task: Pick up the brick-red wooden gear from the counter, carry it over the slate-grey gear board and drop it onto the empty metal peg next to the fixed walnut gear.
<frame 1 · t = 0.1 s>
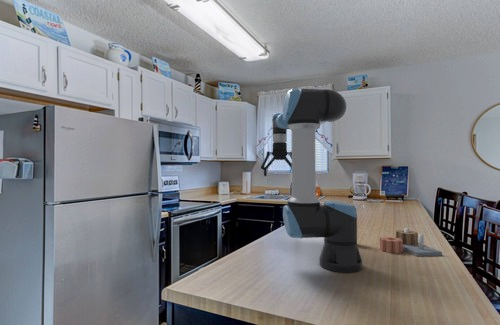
hand: (279, 182, 157), 28 cm above the countertop, fingers open, 13 cm apart
gear board: (413, 249, 130), on the countertop
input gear: (391, 250, 128), on the countertop
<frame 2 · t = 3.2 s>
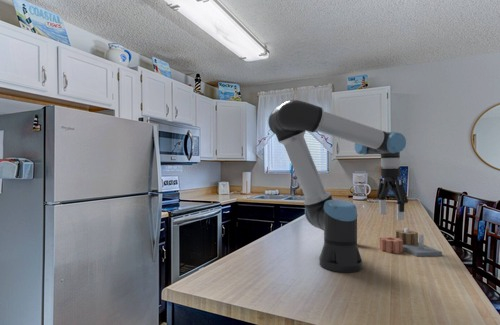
hand: (391, 216, 129), 14 cm above the countertop, fingers open, 13 cm apart
nothing on the countertop moved.
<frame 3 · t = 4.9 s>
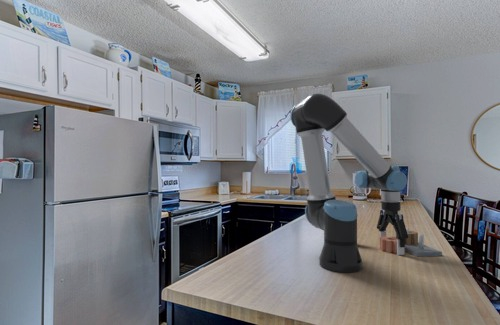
hand: (391, 250, 129), 0 cm above the countertop, fingers open, 13 cm apart
nothing on the countertop moved.
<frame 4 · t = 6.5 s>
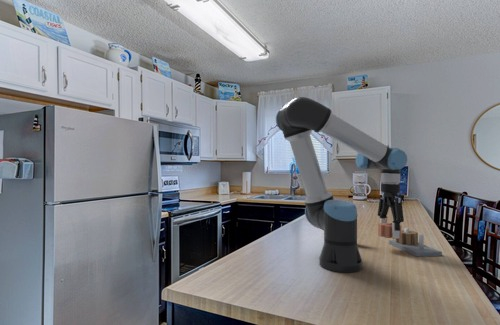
hand: (389, 235, 128), 6 cm above the countertop, fingers closed on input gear, 9 cm apart
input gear: (389, 236, 128), point 6 cm above the countertop, touching gripper
everything else where it was.
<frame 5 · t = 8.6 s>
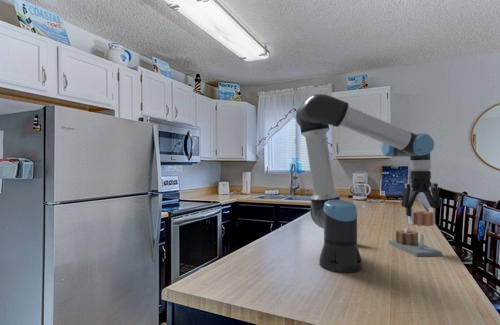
hand: (421, 223, 126), 12 cm above the countertop, fingers closed on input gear, 9 cm apart
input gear: (421, 224, 126), point 12 cm above the countertop, touching gripper
everything else where it was.
when the fingers open (4 cm above the countertop, at t = 10.8 s): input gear drops 2 cm, resting on gear board.
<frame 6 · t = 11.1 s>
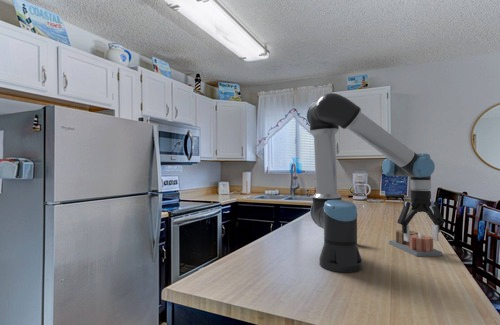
hand: (421, 240, 126), 5 cm above the countertop, fingers open, 12 cm apart
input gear: (420, 248, 126), point 1 cm above the countertop, touching gear board
everything else where it was.
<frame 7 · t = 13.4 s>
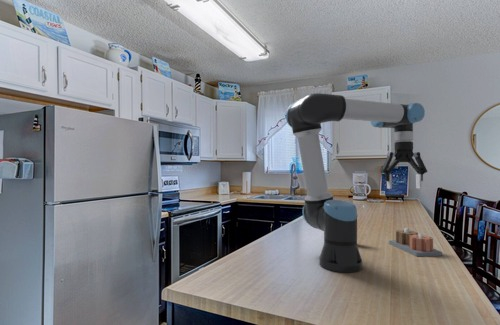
hand: (404, 188, 134), 26 cm above the countertop, fingers open, 13 cm apart
nothing on the countertop moved.
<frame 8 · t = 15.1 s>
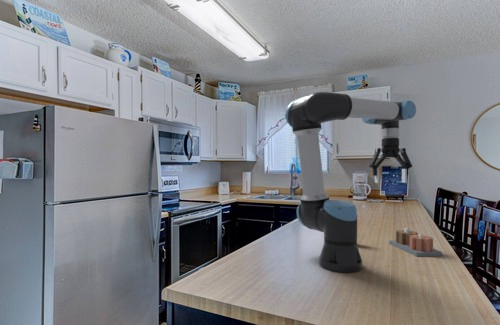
hand: (390, 182, 140), 29 cm above the countertop, fingers open, 13 cm apart
nothing on the countertop moved.
at the end: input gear 0.1 cm from the target spot on the gear board, point 1.5 cm above the gear board's base; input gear tilted 0°; the gripper is holding nothing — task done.
